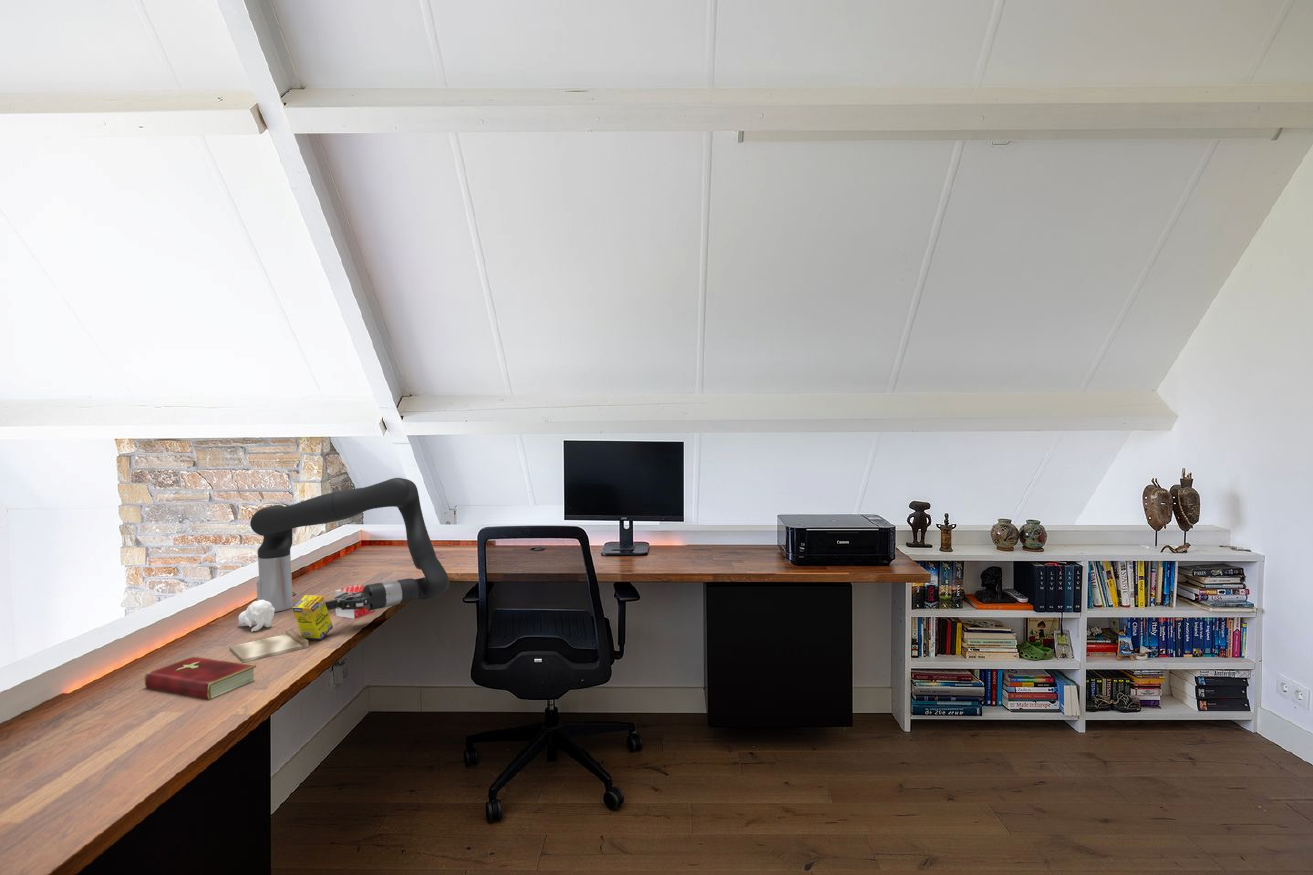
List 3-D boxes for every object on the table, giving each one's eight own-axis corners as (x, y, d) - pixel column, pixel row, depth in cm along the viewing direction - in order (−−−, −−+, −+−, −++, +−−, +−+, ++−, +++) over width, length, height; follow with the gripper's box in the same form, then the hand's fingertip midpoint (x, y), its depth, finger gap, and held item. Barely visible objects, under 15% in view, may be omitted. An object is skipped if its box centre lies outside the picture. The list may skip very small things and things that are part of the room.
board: (243, 662, 180) (243, 655, 180) (229, 649, 191) (229, 642, 190) (308, 647, 191) (308, 640, 191) (292, 635, 201) (292, 629, 201)
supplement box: (321, 640, 196) (310, 608, 192) (302, 639, 197) (290, 607, 193) (334, 627, 201) (323, 595, 197) (315, 626, 203) (304, 594, 198)
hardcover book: (209, 701, 158) (208, 683, 157) (145, 690, 165) (144, 672, 165) (256, 681, 169) (255, 664, 169) (194, 671, 176) (193, 654, 176)
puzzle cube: (374, 611, 224) (373, 586, 223) (354, 618, 217) (353, 593, 216) (356, 608, 227) (355, 584, 227) (335, 615, 220) (334, 590, 220)
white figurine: (255, 603, 203) (229, 602, 209) (258, 632, 203) (232, 631, 209) (275, 597, 209) (249, 597, 214) (278, 626, 209) (252, 625, 215)
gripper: (373, 578, 216) (313, 589, 204) (391, 586, 207) (329, 597, 195) (374, 603, 217) (314, 615, 205) (392, 611, 207) (330, 624, 195)
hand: (321, 606), depth 200 cm, fingers closed
